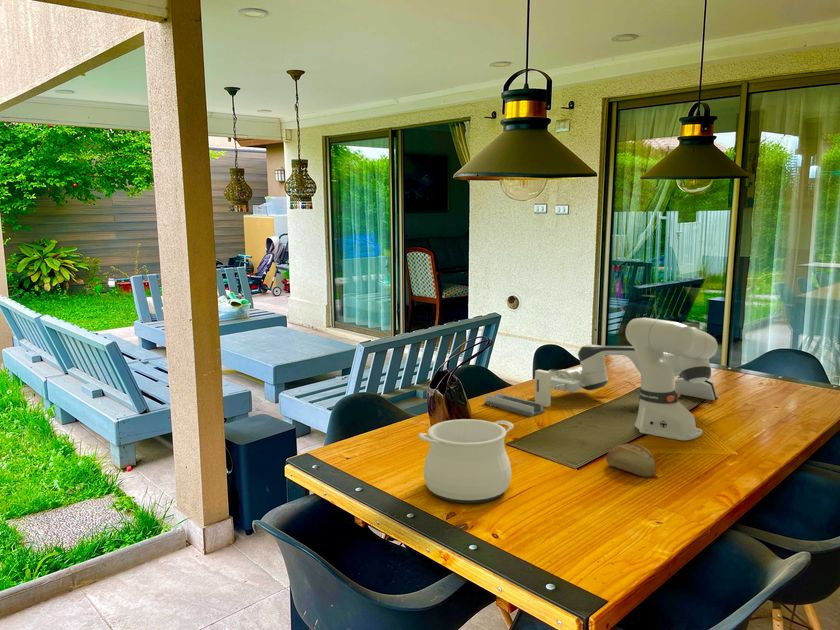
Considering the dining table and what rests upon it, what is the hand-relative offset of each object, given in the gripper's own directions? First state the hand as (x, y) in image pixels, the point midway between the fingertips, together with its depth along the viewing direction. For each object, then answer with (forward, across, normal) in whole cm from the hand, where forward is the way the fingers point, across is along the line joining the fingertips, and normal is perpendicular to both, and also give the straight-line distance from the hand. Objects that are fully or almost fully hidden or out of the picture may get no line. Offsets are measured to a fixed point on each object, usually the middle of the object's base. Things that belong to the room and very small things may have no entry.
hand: (545, 385), depth 262 cm
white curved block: (-54, -36, -8) cm, 65 cm away
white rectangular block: (+2, 0, -7) cm, 8 cm away
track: (+14, +5, -7) cm, 17 cm away
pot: (+83, -38, -8) cm, 92 cm away
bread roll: (+38, -62, -8) cm, 73 cm away
